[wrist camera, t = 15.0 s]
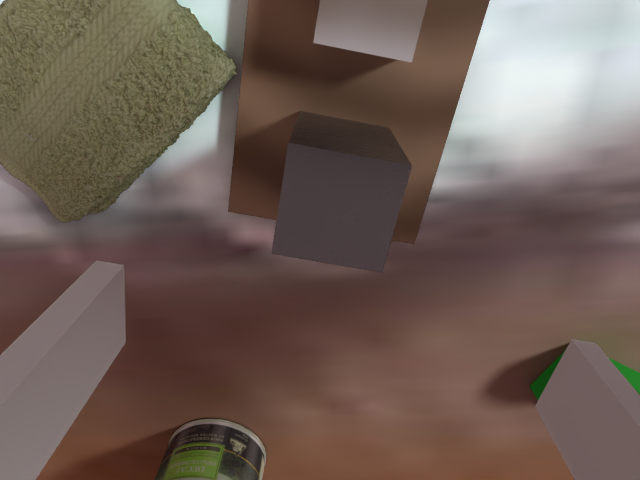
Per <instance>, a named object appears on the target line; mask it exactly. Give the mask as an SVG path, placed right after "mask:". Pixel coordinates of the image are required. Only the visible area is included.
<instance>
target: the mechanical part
mask: <svg viewBox="0 0 640 480" xmlns="http://www.w3.org/2000/svg"><path fill="white" fill-rule="evenodd" d="M564 352H565V351H564ZM564 352H563V353H562V354H561V355H560V356H559V357H558V358H557V359H556V360H555V361H554V362H553V363H552V364H551V365H550V366H549V367H548V368H547V369H546V370H545V371H544V372H543V373H542V374H541V375H540V376H539V377H538V378H537V379H536V380H535V381H534V382H533V383H532V384H531V385H530V388H531V389H532V391H533V393H534V395H535V397H536V398H537V400H539V398H540V396H541V394H542V392H543V391H544V389H545V387H546V385H547V383H548V381H549V380H550V378H551V376H552V374H553V372H554V370H555V369H556V367H557V365H558V363H559V361H560V360H561V358H562V356H563V354H564ZM609 359H610V358H609ZM610 360H611V362H612V363H613V364H614V365H615V366H616V368H617V369H618V370H619V371H620V372H621V374H622V375H623V376H624V377H625V378H626V379H627V381H628V382H629V383H630V384H631V385H632V387H633V388H634V389H635V390H636V391H637V392H638V394H639V395H640V373H639V372H636V371H634V370H632V369H630V368H628V367H626V366H624V365H622V364H620V363H618V362H616V361H614V360H612V359H610Z"/></svg>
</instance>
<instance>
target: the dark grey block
mask: <svg viewBox="0 0 640 480" xmlns="http://www.w3.org/2000/svg"><path fill="white" fill-rule="evenodd" d="M411 168H412V164H411V163H410V161H409V159H408V158H407V156H406V155H405V153H404V151H403V150H402V148H401V146H400V145H399V143H398V141H397V140H396V138H395V136H394V135H393V133H392V131H391V130H390V128H388V127H383V126H378V125H373V124H367V123H362V122H357V121H352V120H346V119H341V118H336V117H331V116H325V115H320V114H315V113H310V112H304V111H300V113H299V115H298V118H297V121H296V123H295V126H294V129H293V131H292V134H291V137H290V140H289V142H288V148H287V155H286V162H285V168H284V175H283V181H282V188H281V195H280V201H279V208H278V215H277V221H276V228H275V235H274V241H273V248H272V254H276V255H282V256H288V257H294V258H300V259H306V260H312V261H317V262H323V263H329V264H335V265H341V266H347V267H353V268H359V269H364V270H370V271H376V272H382V271H383V267H384V264H385V260H386V257H387V253H388V250H389V246H390V243H391V239H392V236H393V232H394V228H395V225H396V221H397V218H398V214H399V211H400V207H401V204H402V200H403V197H404V193H405V189H406V186H407V182H408V179H409V175H410V172H411Z"/></svg>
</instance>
